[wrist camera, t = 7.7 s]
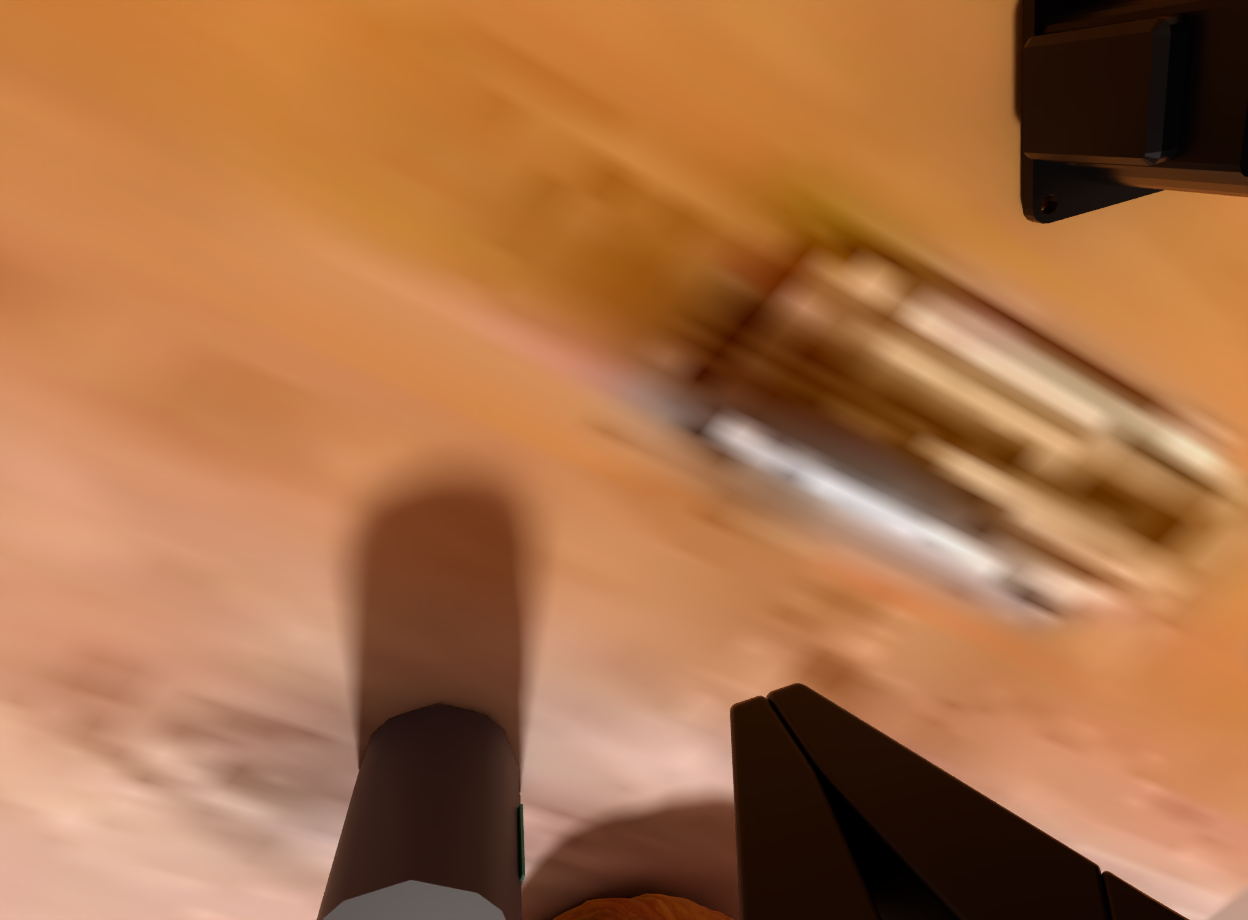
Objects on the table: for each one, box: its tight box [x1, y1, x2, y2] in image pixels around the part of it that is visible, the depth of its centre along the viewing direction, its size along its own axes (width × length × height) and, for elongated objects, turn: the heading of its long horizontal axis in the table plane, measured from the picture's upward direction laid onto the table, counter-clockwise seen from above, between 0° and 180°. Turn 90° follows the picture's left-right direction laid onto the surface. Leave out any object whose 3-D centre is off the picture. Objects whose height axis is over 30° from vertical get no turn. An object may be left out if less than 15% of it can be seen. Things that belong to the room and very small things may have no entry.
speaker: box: [317, 704, 525, 920], centre depth 21 cm, size 6×5×9 cm
